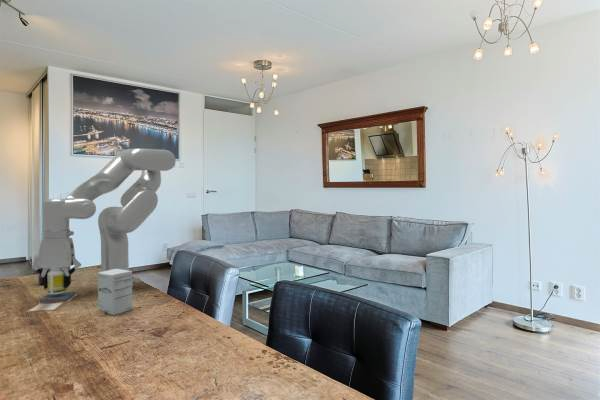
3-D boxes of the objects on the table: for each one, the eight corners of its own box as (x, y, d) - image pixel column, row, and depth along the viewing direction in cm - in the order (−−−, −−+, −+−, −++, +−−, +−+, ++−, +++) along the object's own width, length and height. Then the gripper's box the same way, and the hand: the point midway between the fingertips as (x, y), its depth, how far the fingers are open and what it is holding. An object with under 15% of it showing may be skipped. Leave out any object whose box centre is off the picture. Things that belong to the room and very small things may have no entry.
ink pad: (75, 294, 138) (75, 291, 138) (66, 301, 130) (66, 298, 130) (50, 296, 136) (50, 292, 136) (39, 303, 128) (39, 299, 128)
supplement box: (97, 312, 122) (96, 272, 121) (118, 305, 128) (117, 267, 128) (112, 315, 118) (112, 275, 118) (133, 309, 125) (132, 270, 124)
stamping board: (77, 296, 138) (77, 293, 138) (56, 313, 121) (56, 309, 121) (49, 298, 136) (49, 295, 136) (23, 314, 119) (23, 311, 119)
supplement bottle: (69, 291, 135) (69, 263, 135) (58, 295, 130) (58, 266, 129) (55, 290, 135) (55, 262, 135) (43, 294, 130) (43, 265, 130)
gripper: (87, 233, 137) (87, 283, 138) (33, 233, 134) (34, 285, 134) (80, 235, 130) (80, 289, 131) (22, 236, 127) (23, 291, 127)
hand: (56, 286), depth 132 cm, fingers closed on supplement bottle, 5 cm apart
